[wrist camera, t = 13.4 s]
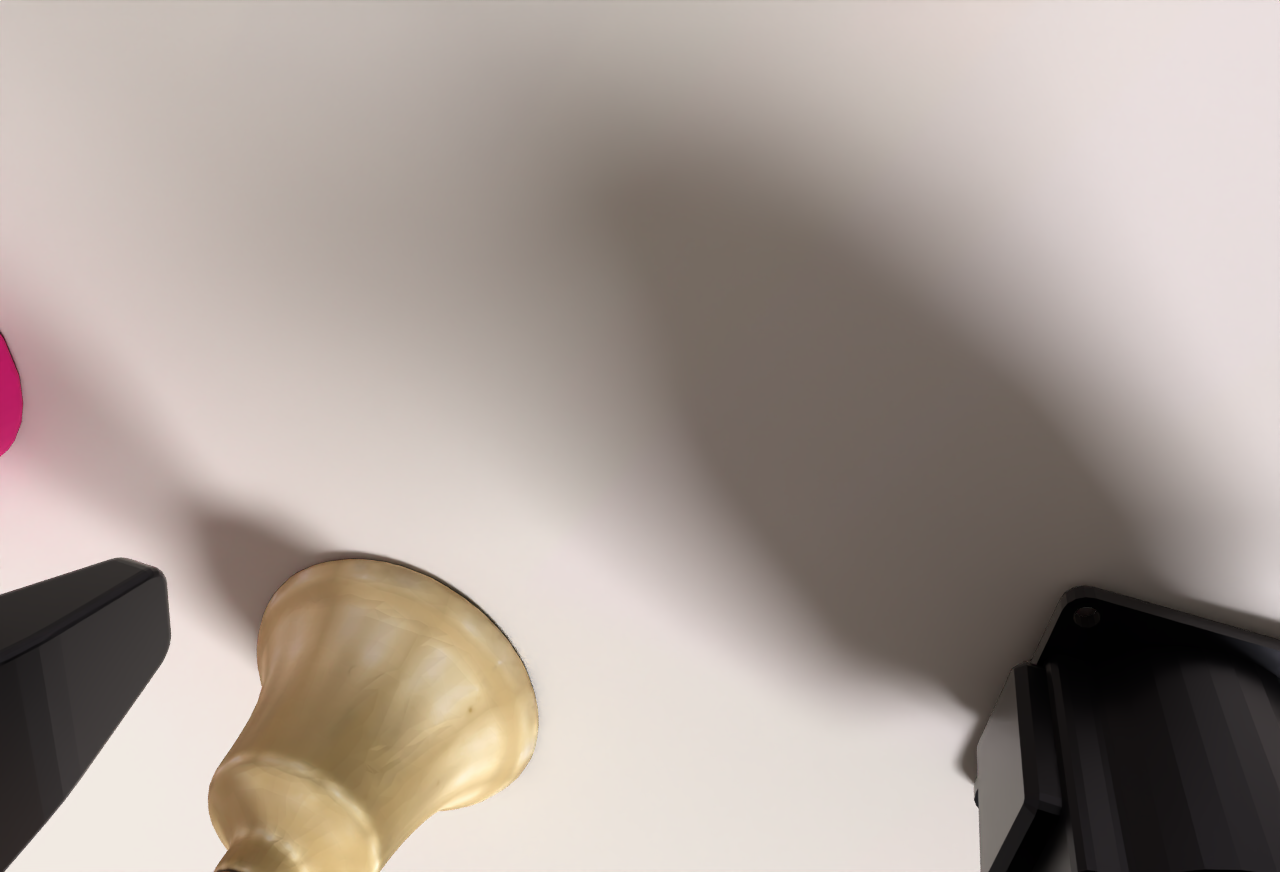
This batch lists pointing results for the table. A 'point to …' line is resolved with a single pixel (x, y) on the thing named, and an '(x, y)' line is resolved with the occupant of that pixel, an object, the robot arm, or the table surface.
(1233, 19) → the table surface
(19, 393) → the pepper mill
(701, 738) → the table surface
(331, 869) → the hand bell
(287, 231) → the table surface
